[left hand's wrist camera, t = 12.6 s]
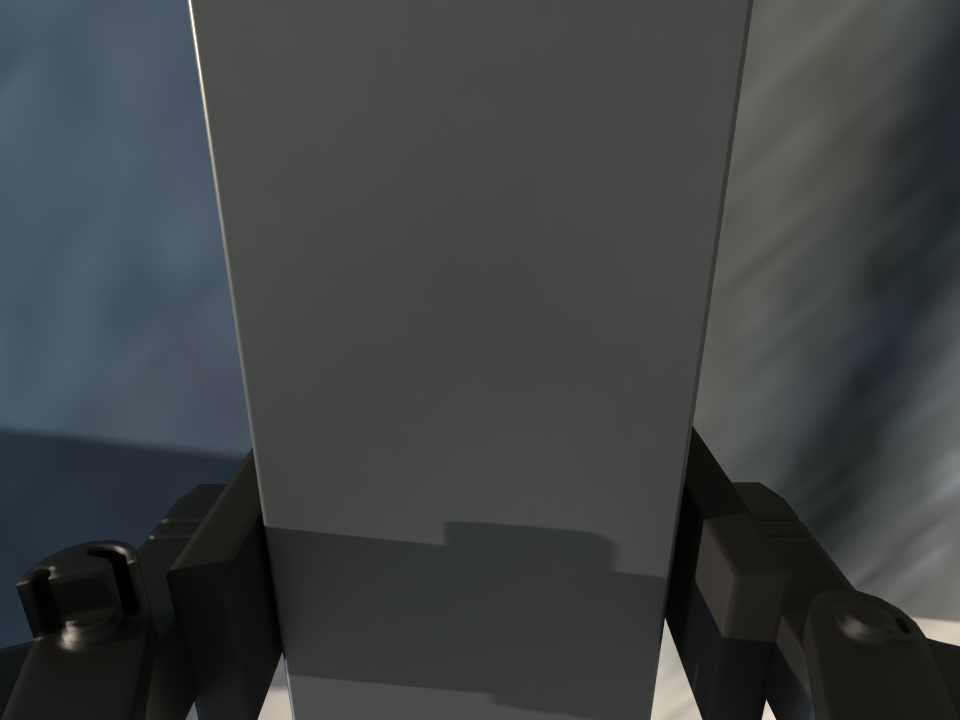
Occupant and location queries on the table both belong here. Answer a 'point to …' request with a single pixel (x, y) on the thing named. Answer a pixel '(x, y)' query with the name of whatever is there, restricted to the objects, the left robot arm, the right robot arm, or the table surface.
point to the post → (470, 332)
